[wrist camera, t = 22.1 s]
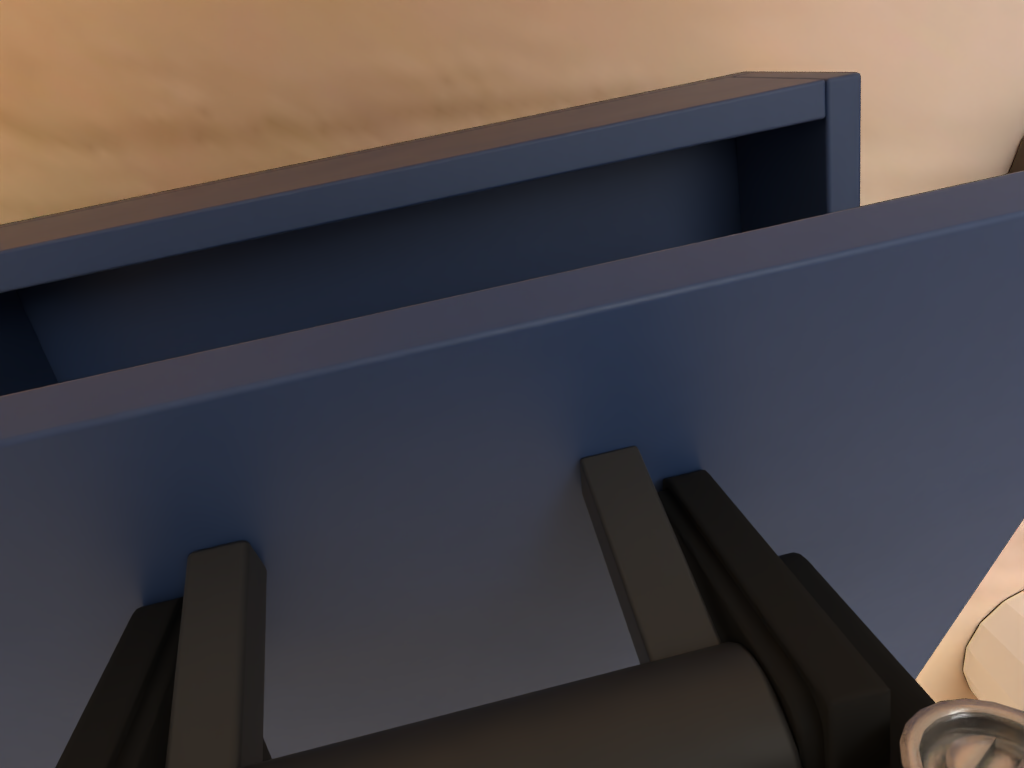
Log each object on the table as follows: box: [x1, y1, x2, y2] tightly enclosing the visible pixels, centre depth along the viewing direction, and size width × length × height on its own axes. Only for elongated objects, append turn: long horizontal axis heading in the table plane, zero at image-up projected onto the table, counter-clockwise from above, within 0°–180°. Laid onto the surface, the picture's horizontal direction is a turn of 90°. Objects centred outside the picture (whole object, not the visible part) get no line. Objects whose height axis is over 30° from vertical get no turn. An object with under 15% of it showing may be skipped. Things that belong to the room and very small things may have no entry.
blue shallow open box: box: [0, 72, 861, 396], centre depth 19 cm, size 16×18×5 cm
